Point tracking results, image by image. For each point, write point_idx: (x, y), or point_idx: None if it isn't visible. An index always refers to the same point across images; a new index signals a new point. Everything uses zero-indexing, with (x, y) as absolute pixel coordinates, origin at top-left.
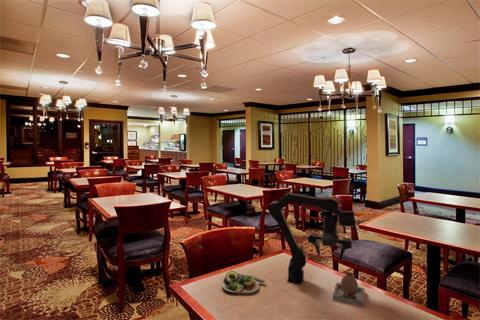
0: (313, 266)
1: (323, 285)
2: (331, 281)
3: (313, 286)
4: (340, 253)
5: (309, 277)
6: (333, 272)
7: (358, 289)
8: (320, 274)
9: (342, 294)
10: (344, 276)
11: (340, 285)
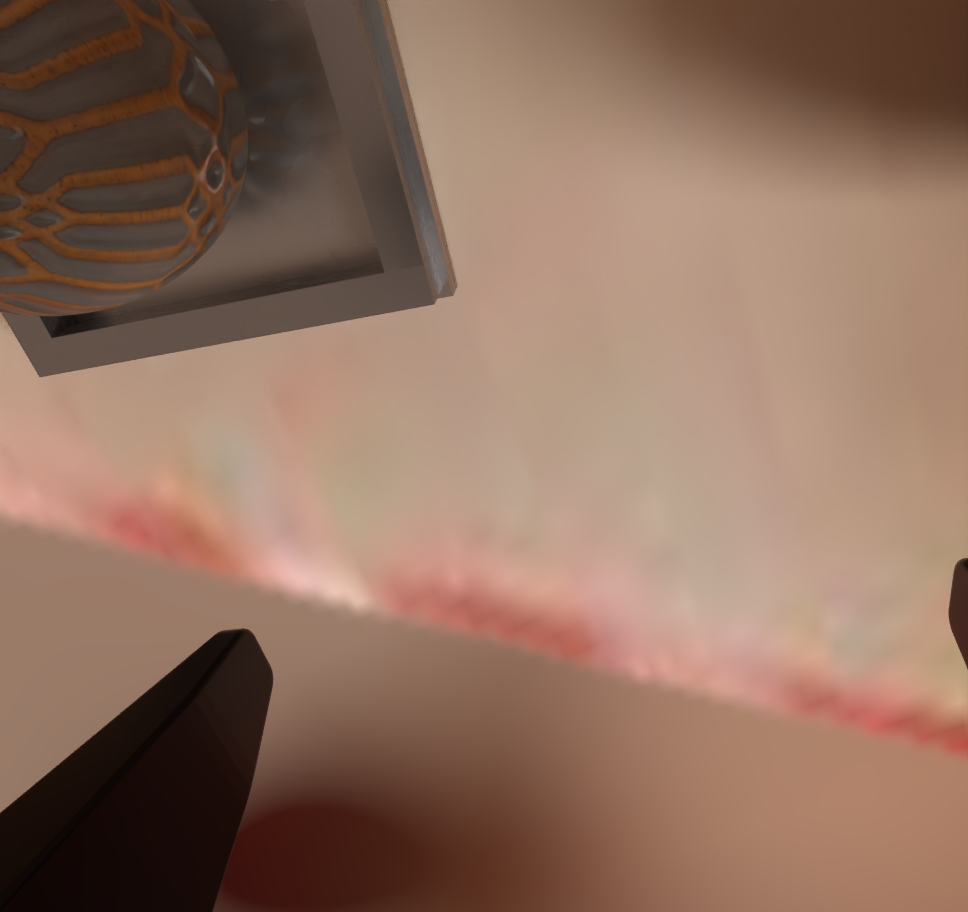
0: (936, 677)
1: (648, 198)
2: (572, 406)
3: (818, 27)
4: (42, 863)
5: (954, 335)
6: (627, 646)
7: (103, 321)
8: (786, 519)
9: (220, 12)
10: (15, 127)
11: (356, 273)
